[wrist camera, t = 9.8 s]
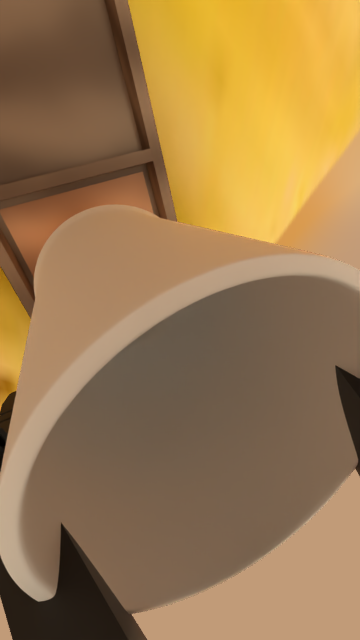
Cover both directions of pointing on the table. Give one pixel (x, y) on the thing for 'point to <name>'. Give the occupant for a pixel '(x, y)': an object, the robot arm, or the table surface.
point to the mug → (174, 404)
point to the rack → (71, 125)
